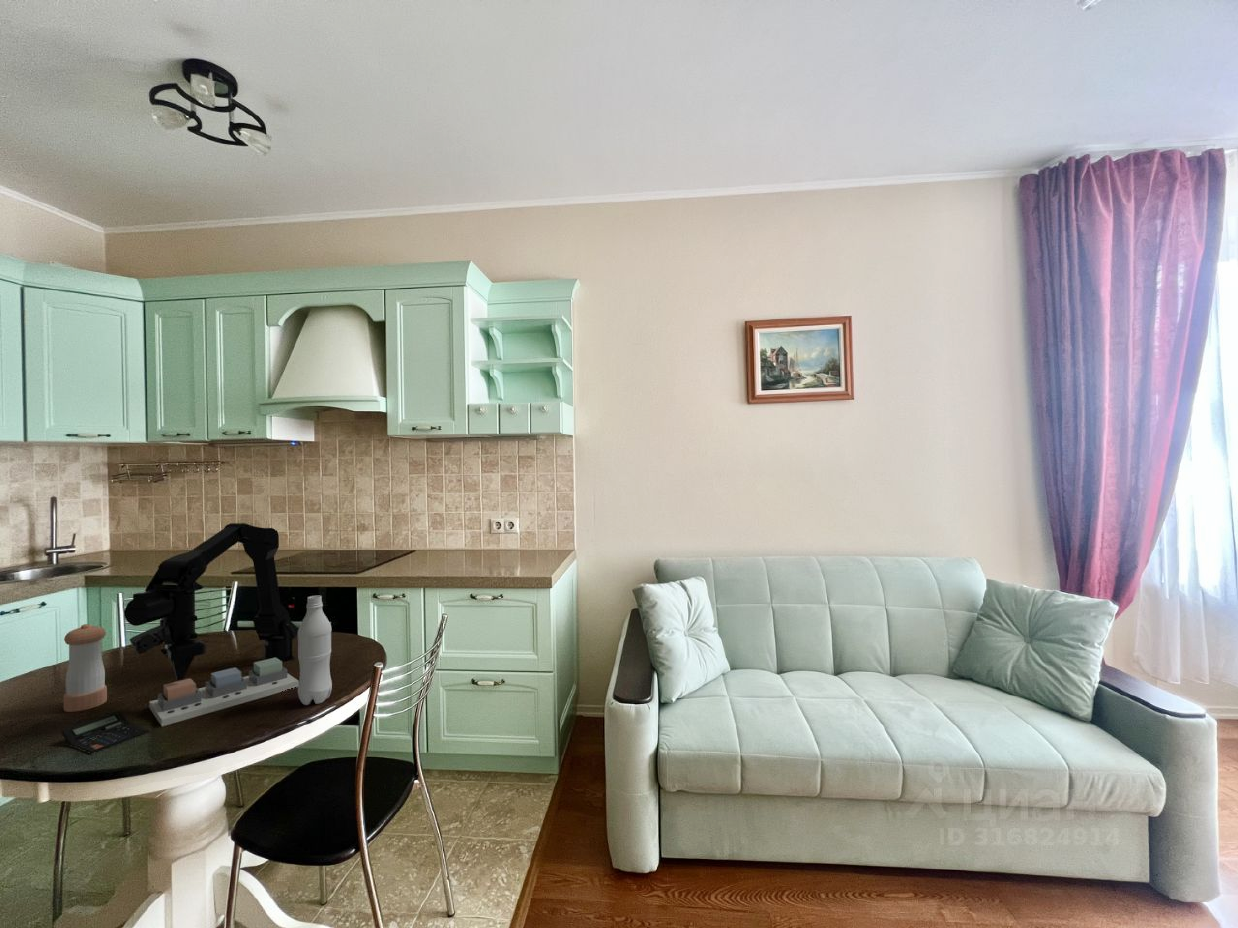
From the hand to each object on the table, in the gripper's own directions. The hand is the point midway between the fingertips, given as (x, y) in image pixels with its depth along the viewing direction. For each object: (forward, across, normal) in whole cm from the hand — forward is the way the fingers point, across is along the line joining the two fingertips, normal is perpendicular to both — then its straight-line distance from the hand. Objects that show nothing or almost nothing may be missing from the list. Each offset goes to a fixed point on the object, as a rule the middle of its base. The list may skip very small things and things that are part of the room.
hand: (179, 679), depth 125 cm
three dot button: (+4, 0, 0) cm, 4 cm away
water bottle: (+7, +20, +22) cm, 31 cm away
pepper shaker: (+7, -20, -14) cm, 25 cm away
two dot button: (+4, 0, +9) cm, 10 cm away
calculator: (+7, +5, -13) cm, 16 cm away
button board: (+7, +1, +9) cm, 11 cm away
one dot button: (+4, 0, +18) cm, 18 cm away
